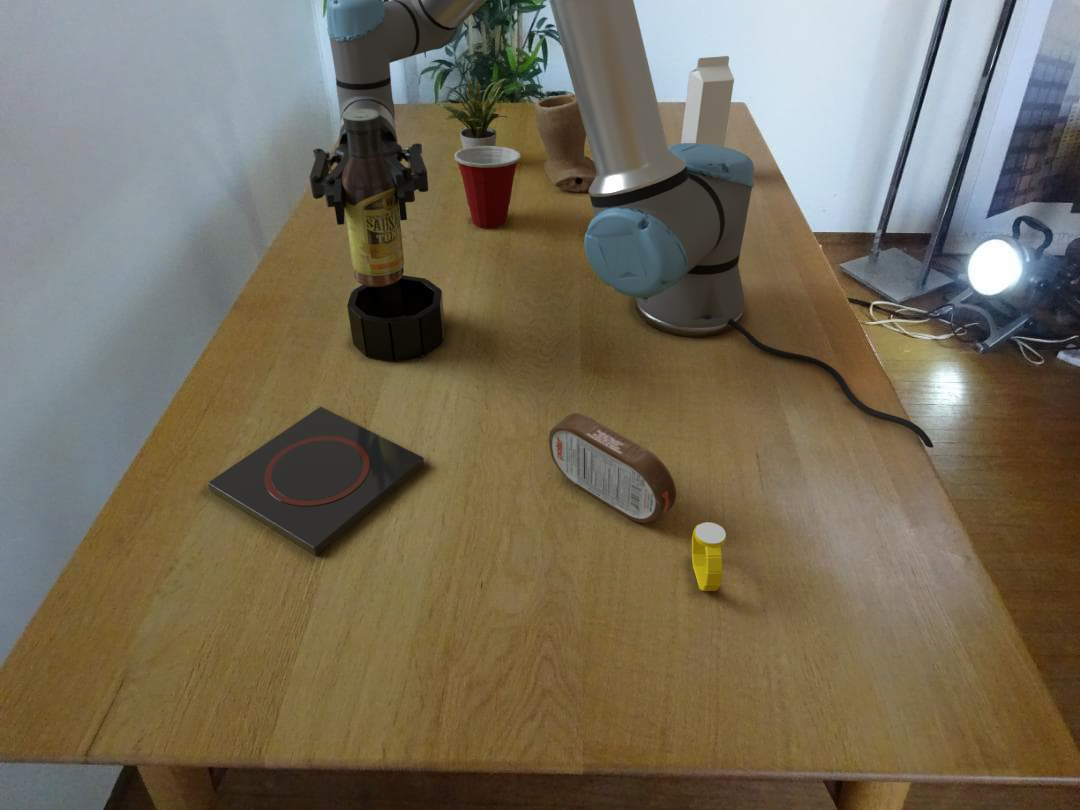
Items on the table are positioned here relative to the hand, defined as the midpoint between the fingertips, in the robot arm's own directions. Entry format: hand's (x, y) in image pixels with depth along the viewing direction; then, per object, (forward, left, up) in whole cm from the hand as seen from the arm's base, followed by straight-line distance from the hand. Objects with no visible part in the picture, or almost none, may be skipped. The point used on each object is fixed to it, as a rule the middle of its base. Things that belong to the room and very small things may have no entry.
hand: (371, 210), depth 89 cm
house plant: (+35, -64, -22) cm, 76 cm away
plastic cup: (+17, -43, -22) cm, 51 cm away
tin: (-34, +4, -22) cm, 41 cm away
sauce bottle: (+4, -4, -11) cm, 12 cm away
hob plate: (-7, +19, -22) cm, 30 cm away
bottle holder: (+5, -7, -22) cm, 23 cm away
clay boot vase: (+16, -66, -22) cm, 71 cm away
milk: (-4, -81, -22) cm, 84 cm away
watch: (-47, +8, -22) cm, 53 cm away
